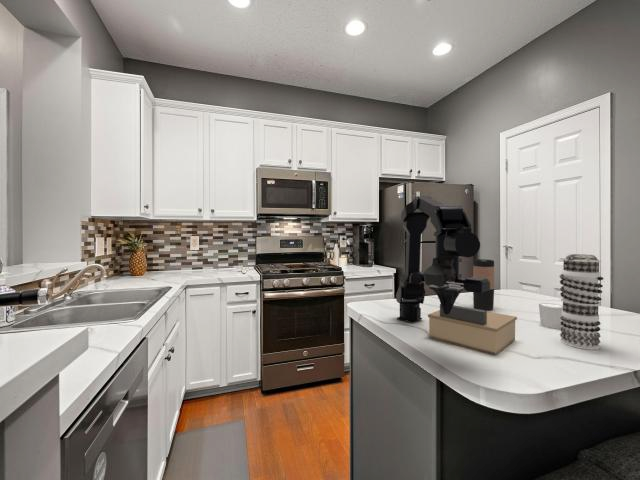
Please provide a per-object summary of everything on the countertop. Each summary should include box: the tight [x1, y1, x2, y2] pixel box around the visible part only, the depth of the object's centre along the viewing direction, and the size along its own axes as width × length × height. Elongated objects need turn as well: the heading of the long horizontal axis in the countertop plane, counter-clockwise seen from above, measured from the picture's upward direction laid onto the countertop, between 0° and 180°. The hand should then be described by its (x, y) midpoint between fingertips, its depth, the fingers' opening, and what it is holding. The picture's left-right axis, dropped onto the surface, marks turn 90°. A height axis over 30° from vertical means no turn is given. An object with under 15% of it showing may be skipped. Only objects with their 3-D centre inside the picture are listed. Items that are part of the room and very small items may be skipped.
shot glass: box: [538, 302, 563, 330], centre depth 100 cm, size 7×7×7 cm
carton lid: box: [427, 303, 518, 332], centre depth 89 cm, size 19×17×4 cm
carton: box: [428, 317, 516, 356], centre depth 89 cm, size 18×16×6 cm
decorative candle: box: [559, 253, 604, 351], centre depth 84 cm, size 9×9×25 cm
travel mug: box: [472, 258, 495, 312], centre depth 123 cm, size 8×8×20 cm
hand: (446, 314), depth 78 cm, fingers closed
